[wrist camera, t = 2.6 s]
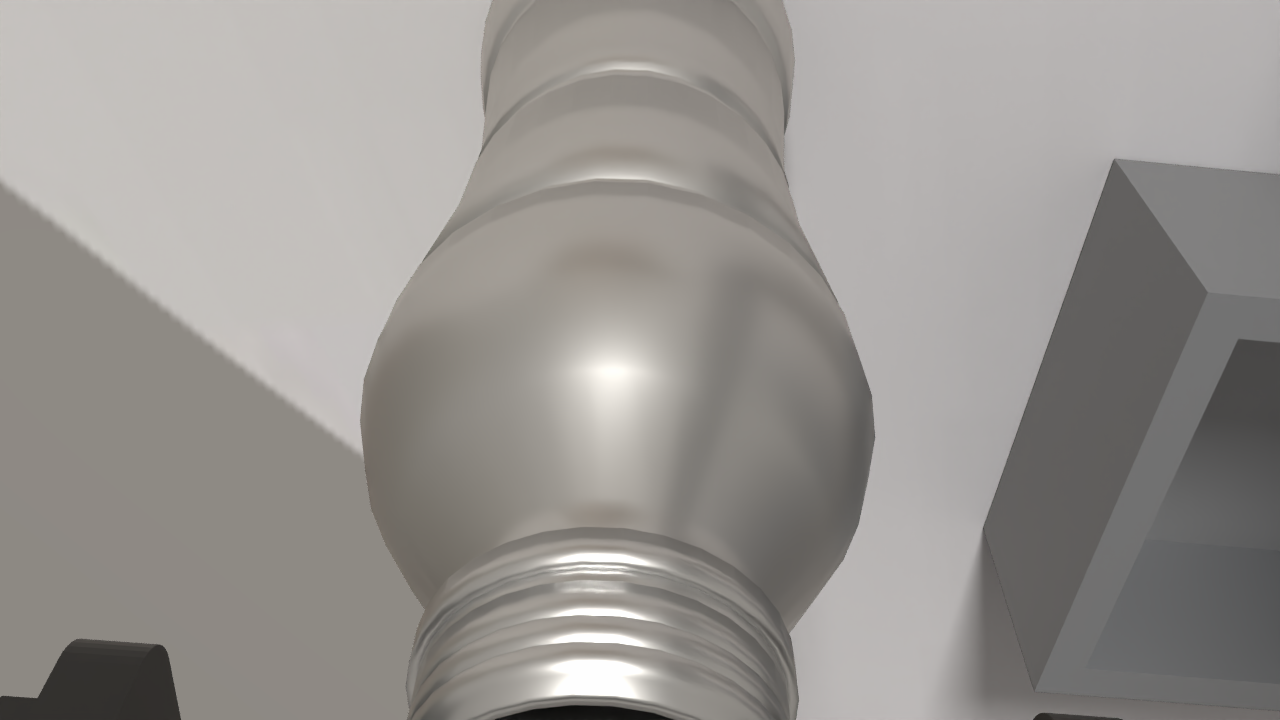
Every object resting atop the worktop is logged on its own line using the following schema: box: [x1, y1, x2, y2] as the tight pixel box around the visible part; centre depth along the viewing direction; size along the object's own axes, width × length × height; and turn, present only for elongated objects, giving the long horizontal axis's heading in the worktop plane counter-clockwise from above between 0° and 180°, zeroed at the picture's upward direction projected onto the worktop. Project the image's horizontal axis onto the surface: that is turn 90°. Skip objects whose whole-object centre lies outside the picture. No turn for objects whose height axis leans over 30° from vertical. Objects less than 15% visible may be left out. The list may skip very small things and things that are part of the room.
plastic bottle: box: [360, 0, 875, 720], centre depth 18 cm, size 6×7×20 cm
